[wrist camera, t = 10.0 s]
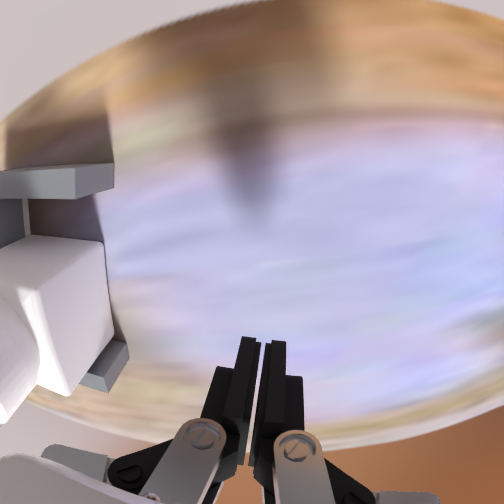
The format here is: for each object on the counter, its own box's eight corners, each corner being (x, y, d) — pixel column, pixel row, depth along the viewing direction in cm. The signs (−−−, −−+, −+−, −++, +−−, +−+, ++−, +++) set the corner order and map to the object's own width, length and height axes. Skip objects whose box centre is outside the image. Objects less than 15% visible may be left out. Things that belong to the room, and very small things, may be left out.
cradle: (114, 162, 15) (75, 168, 11) (129, 358, 20) (108, 393, 16) (10, 169, 15) (-27, 176, 12) (35, 331, 20) (10, 355, 16)
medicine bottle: (46, 316, 19) (-43, 405, 8) (31, 232, 17) (-93, 300, 6) (116, 334, 19) (31, 460, 8) (105, 240, 17) (-40, 344, 5)
